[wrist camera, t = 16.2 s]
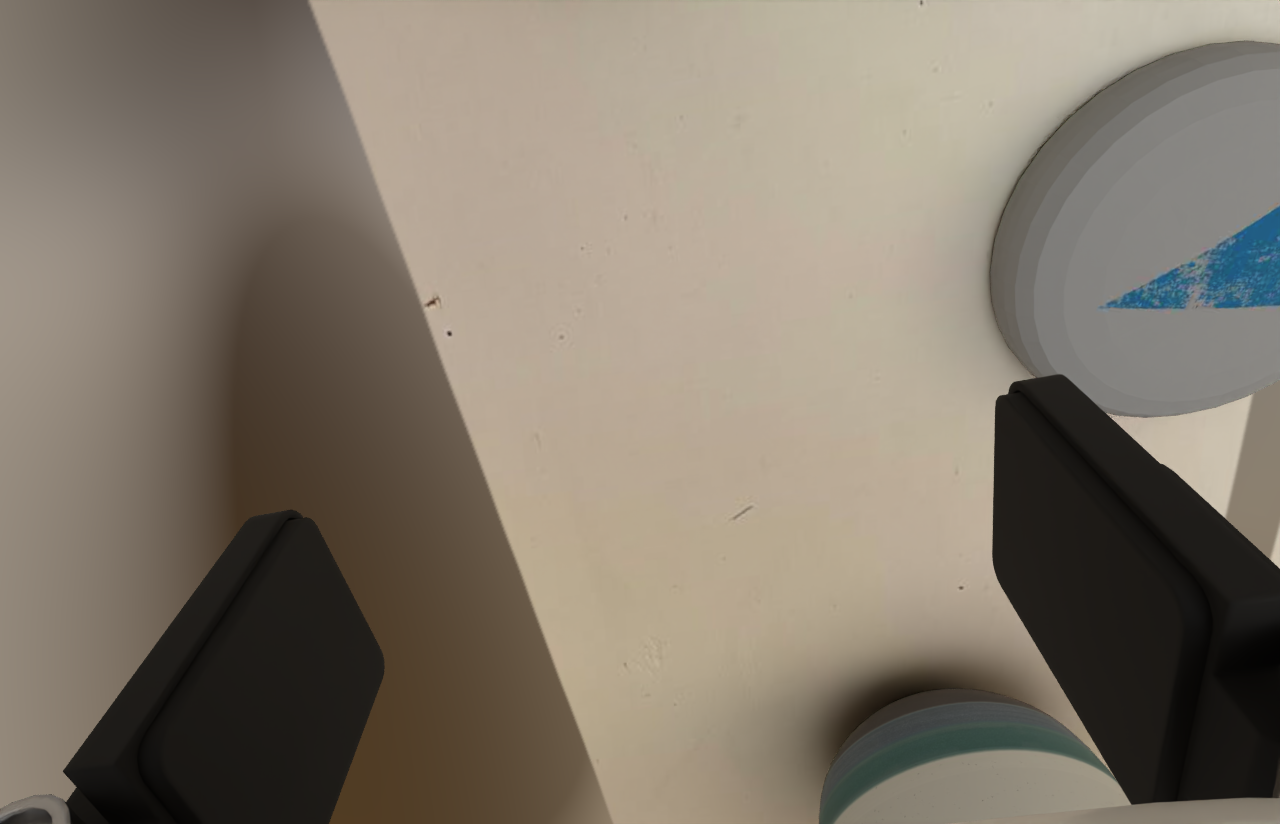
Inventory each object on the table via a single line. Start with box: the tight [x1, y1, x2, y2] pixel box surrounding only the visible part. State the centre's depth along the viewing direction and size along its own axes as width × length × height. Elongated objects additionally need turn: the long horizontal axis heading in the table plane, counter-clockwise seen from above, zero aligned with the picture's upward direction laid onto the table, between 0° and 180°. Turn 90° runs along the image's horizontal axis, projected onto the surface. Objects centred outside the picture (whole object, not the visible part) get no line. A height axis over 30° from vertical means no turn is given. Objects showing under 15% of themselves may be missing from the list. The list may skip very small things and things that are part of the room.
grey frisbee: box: [990, 41, 1280, 418], centre depth 37 cm, size 18×18×5 cm
